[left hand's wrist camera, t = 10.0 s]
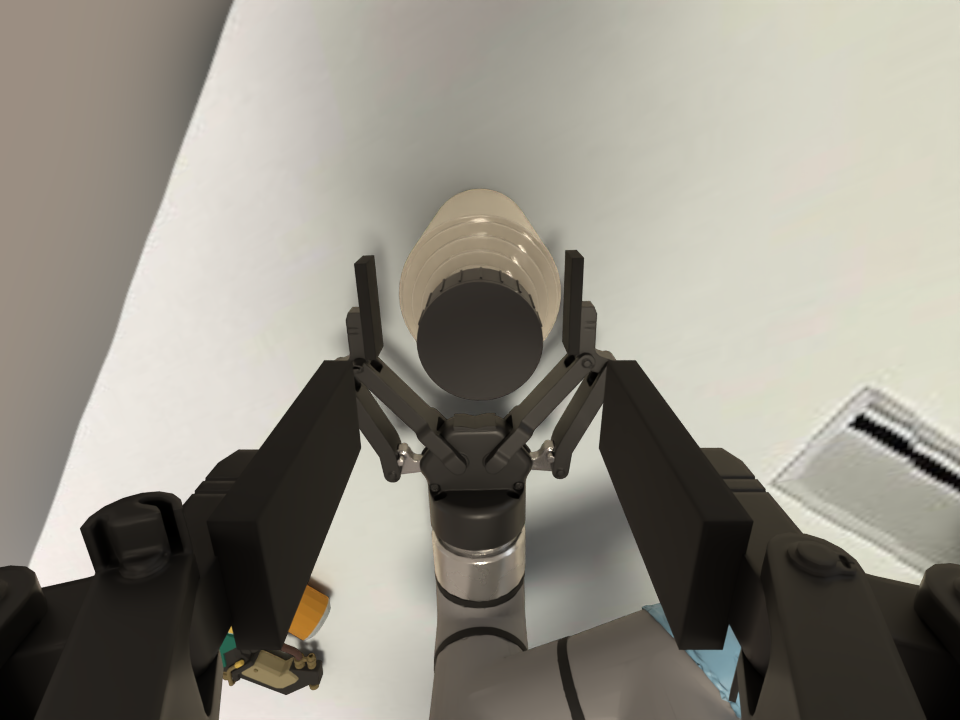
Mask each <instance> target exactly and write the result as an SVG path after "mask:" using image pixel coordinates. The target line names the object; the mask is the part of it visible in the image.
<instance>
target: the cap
mask: <svg viewBox="0 0 960 720" xmlns="http://www.w3.org/2000/svg"><path fill="white" fill-rule="evenodd" d="M418 325H419V327H418V332H417V350H418V354H419V358H420V361H421V363H422V366H423V367H424V369H425V371H426V372H427V374H428V375H429V377H430V378H431V379H432V380H433V381H434V382H435V383H436V384H437V385H438V386H440V387H441V388H442V389H444V390H445V391H447V392H449V393H451V394H453V395H455V396H458V397H461V398H464V399H469V400H491V399H496V398H499V397H502V396H505V395H507V394H509V393H511V392H513V391H515V390H516V389H518V388H519V387H521V386H522V385H523V384H524V383H525V382H526V381H527V380H528V379H529V378H530V377H531V375H532V374H533V372H534V371H535V369H536V368H537V365H538V363H539V361H540V358H541V354H542V349H543V333H542V328H541V327H543V326H542V323H541V320H540V317H539V314H538V311H536V309H535V305H534V302H533V299H532V296H531V294H528V292H527V291H526V290H525V288H524V287H523V286H522V285H521V284H520V283H519V280H515V279H514V278H512V277H511V276H509V275H507V274H505V273H503V272H502V271H501V270H500V271H497V270H493V269H487V268H482V267H480V268H473V269H466V270H463V271H462V270H460V272H457V273H455V274H453V275H451V276H450V277H448V278H446V279H445V278H444V279H443V280H442V282H441V283H440V284H439V285H438V286H437V287H436V288H435V290H434V291H433V292H432V293H430V294H429V297H428V300H427V303H426V307H425V309H423V311H422V313H421V316H420V319H419V322H418Z"/></svg>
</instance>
